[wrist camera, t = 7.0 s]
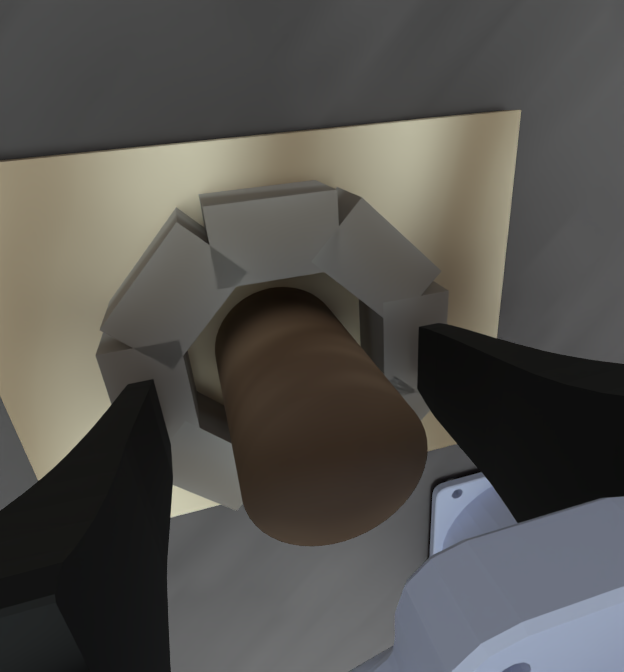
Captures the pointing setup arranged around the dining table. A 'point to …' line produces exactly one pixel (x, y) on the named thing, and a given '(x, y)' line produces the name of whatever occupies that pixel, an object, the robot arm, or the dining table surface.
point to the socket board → (141, 184)
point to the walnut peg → (312, 422)
